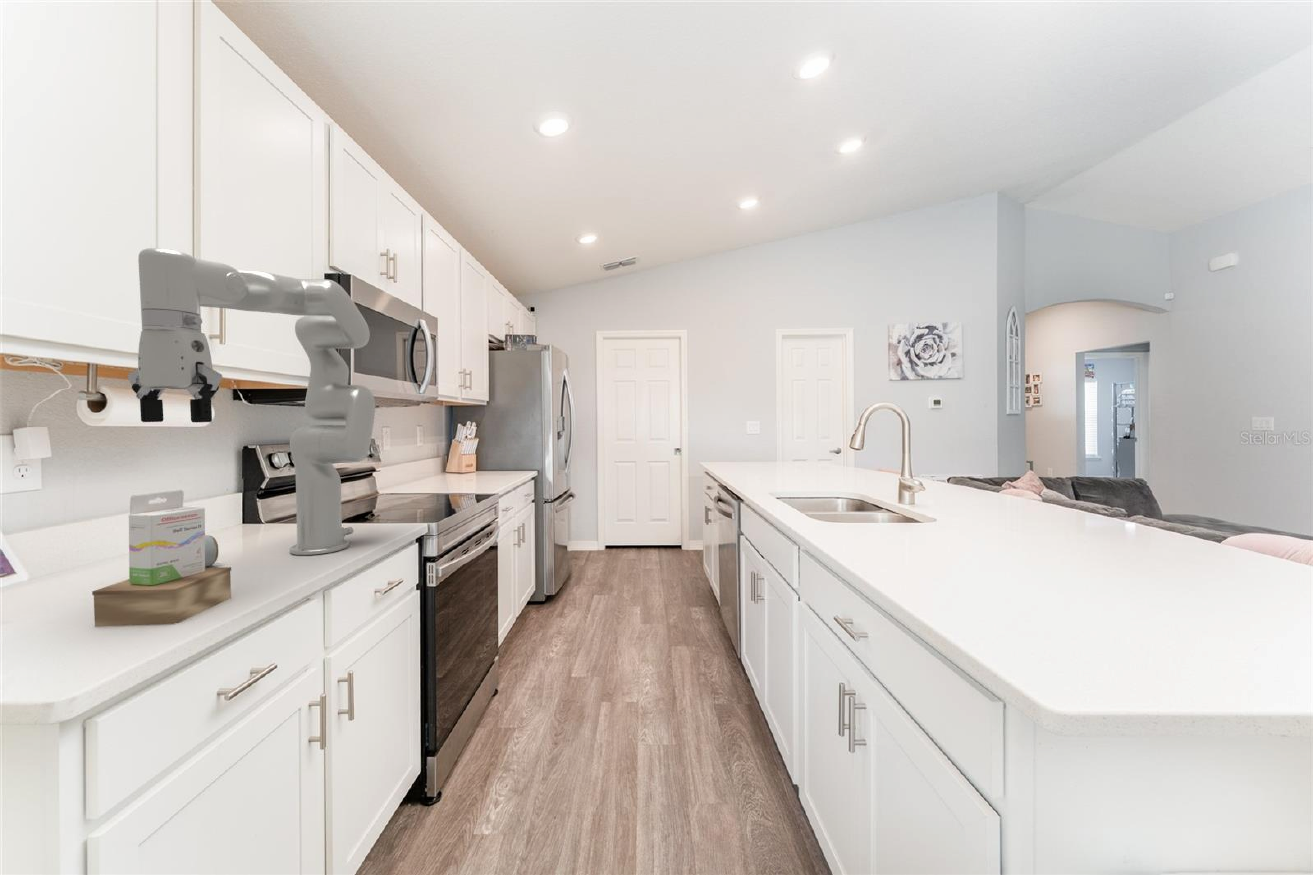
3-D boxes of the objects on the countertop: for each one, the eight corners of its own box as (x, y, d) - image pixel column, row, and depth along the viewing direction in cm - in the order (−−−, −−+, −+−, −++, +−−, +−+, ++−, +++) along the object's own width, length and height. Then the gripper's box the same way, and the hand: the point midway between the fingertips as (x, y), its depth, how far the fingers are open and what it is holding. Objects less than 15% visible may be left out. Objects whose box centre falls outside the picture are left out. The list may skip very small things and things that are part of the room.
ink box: (151, 586, 83) (149, 496, 83) (128, 584, 84) (125, 495, 84) (207, 571, 92) (206, 489, 91) (185, 569, 93) (183, 489, 92)
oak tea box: (160, 601, 93) (159, 568, 93) (232, 599, 94) (231, 567, 94) (93, 629, 81) (92, 591, 81) (176, 626, 82) (175, 589, 82)
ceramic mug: (221, 567, 114) (220, 533, 114) (174, 577, 106) (173, 540, 106) (198, 562, 118) (197, 529, 118) (151, 571, 111) (150, 536, 111)
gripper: (236, 326, 91) (241, 421, 92) (151, 328, 93) (156, 421, 94) (194, 319, 84) (199, 422, 85) (103, 321, 86) (108, 422, 87)
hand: (177, 422), depth 89 cm, fingers open, 9 cm apart
